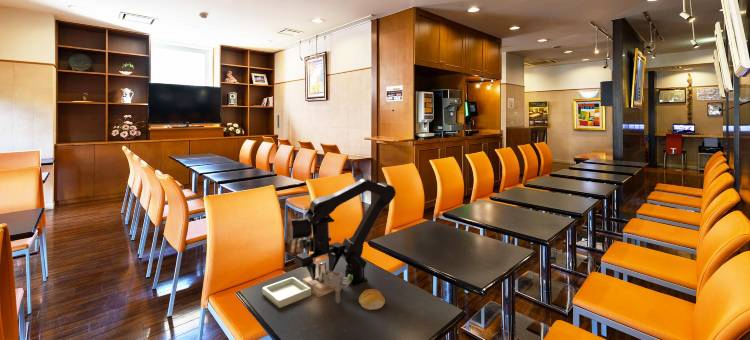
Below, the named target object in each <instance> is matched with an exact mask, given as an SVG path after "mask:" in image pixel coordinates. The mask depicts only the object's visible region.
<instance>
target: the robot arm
mask: <svg viewBox="0 0 750 340" xmlns="http://www.w3.org/2000/svg"><path fill="white" fill-rule="evenodd" d="M365 192H370V193H372V194H371V195H372V196H371V202H370V205H368V208H367V209H366V212H365V213H364V214H363V217H362V219H361V221H360V222H359V224H358V226H357V228H356V229H355V231H354V233H353V234H352V235H351V237H349V238H347V237H345V238H344V239H343V242H342V243H341V242H338V241H336V242H334V243H330V242H331V241H332V237H330V225H329V223H334V222H335V219H334V218H333V217H332V216H331V215H330V214H332V213H333V212H334V211H335V210H336V209H337V208H338V207H339V206H340V205H342V204H344V203H346V202H349V201H350V200H352V199H354V198H356V197H357V196H359V195H361V194H363V193H365ZM396 194H397V193H396V189H395V187H394V186H392V185H390V184H388V183H386V182H383V181H382V182H381V181H380V182H376V181H372V180H370V179H368V178H365V177H362V178H360V179H359V180H358V181H356V182H354V183H352V184H350V185H348V186H346V187H344V188H342V189H340V190H339V191H336V192H334V193H331V194H328V195H322V196H320V197H317V198H314V199H313V200H312V201H310V205H309V208H308V210H307V211H306V213H305V214H304V217H302V218H291V219H290V223H289V235H290V239H291V240H297V239H298V240H299V239H301V240H299V247H300V249H301V250H305V251H308V250H309V252H310V253H306V252H301V253H298V254H296V255H295V256H294V260H293V261H294V263H295V264H296V265H297V266H299V267H301V268H306V269H307V271H308V273H309V275H310V276H311V278H312V280H315V274H317V273H316V272H317V271H316V269H317V264H316V263H315V262H314V260H316V259H318V258H321V257H324V256H327V257H328V271H333V272H334V270H335V268H336V266H337V265H338V262H339V260H340V259H341V258H342V259H343V260H344V262H345V263H346V264H347V265H345V274H344V275H345V276H344V277H348V274H351V275H353V280H351V283H350V285H352V286H357V285H359V284H361V283H363V282H365V281H367V280H368V278H367V277H366V276H365V268H366V266H367V263H368V262H367V261H366V260H365V259H364V258H363V257H362V255H363V252H364V244H365V241H366V240H367V238H368V236H369V234H370V232H371V230H372V229H373V226H374V225H375V223H376V222H377V219H378V218H379V215H380V214H381V213H382V210H383V209H384V208H386V207H387V206H388V205H390V203H392V201H393V199H394V198H395V197H396ZM311 234H312V236H311ZM310 236H311V237H310ZM309 237H310V238H309ZM306 238H309V240H307V239H306ZM310 276H309V277H310Z"/></svg>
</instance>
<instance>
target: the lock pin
mask: <svg viewBox="0 0 750 340" xmlns="http://www.w3.org/2000/svg"><path fill="white" fill-rule="evenodd" d="M316 266H317V274H318V282H319V283H323V282H324V279H323V278H322V273H325V272H326V271H327V263H326V261H319V262H318V263H317V264H316Z"/></svg>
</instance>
